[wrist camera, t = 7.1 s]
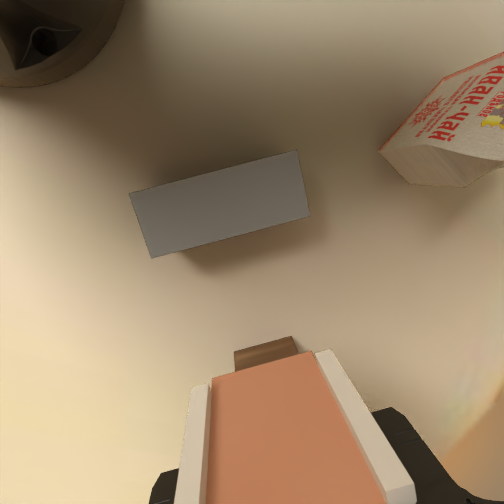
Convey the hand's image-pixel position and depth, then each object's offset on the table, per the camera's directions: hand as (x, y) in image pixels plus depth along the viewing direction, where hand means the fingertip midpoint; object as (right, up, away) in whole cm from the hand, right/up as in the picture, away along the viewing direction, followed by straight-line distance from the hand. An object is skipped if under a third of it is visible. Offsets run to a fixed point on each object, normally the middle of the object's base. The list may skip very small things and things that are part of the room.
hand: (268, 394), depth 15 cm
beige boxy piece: (+12, +15, +10) cm, 22 cm away
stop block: (-3, +10, +9) cm, 14 cm away
